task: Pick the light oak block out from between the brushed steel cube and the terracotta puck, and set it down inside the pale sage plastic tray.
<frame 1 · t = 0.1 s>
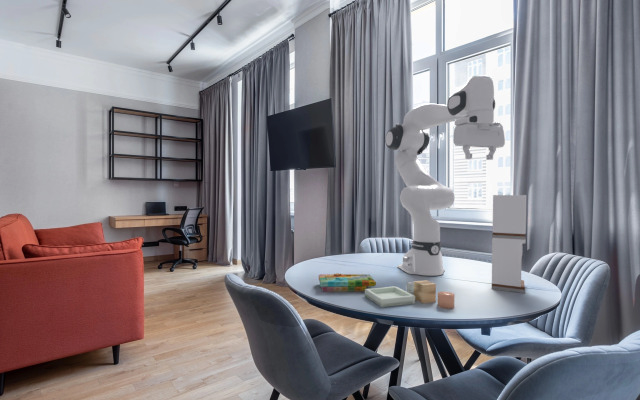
hand: (479, 159, 125), 48 cm above the table, tool pointing down, fingers open, 8 cm apart
sage tray: (389, 299, 116), on the table
puzzle game: (346, 289, 130), on the table
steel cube: (414, 294, 122), on the table
striped white tower: (508, 287, 132), on the table
terracotta puck: (445, 306, 110), on the table
oak block: (424, 300, 115), on the table
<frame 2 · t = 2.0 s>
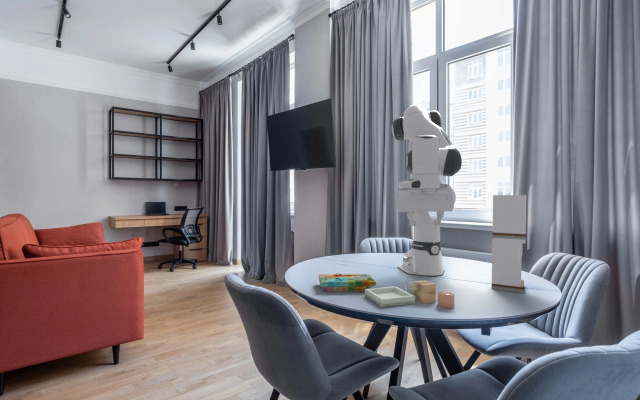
hand: (425, 225, 115), 25 cm above the table, tool pointing down, fingers open, 8 cm apart
nothing on the table moved.
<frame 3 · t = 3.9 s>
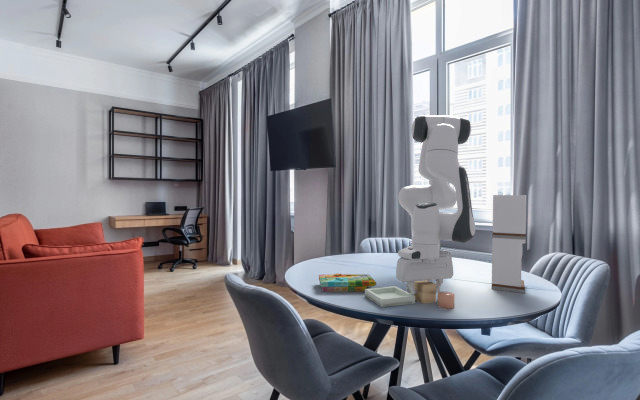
hand: (425, 293, 115), 2 cm above the table, tool pointing down, fingers open, 7 cm apart
nothing on the table moved.
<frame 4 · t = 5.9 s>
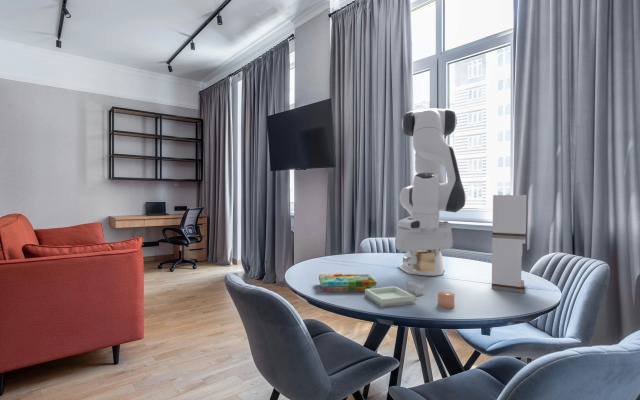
hand: (424, 263, 116), 12 cm above the table, tool pointing down, fingers closed on oak block, 5 cm apart
oak block: (423, 269, 116), point 10 cm above the table, touching gripper
everything else where it was.
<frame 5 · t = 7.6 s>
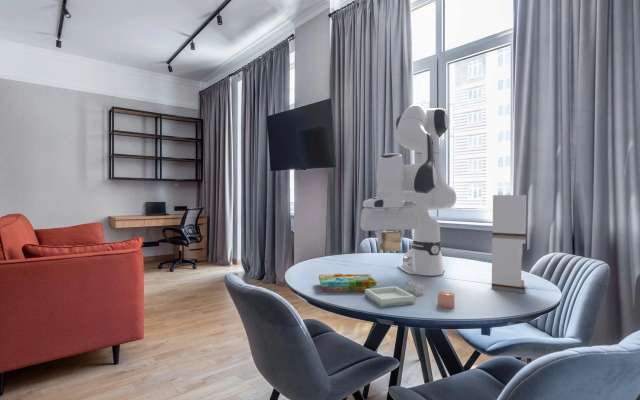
hand: (389, 243, 115), 19 cm above the table, tool pointing down, fingers closed on oak block, 5 cm apart
oak block: (389, 250, 116), point 17 cm above the table, touching gripper
everything else where it was.
when the fingers open (5 cm above the table, at t = 10.6 s): oak block drops 1 cm, resting on sage tray.
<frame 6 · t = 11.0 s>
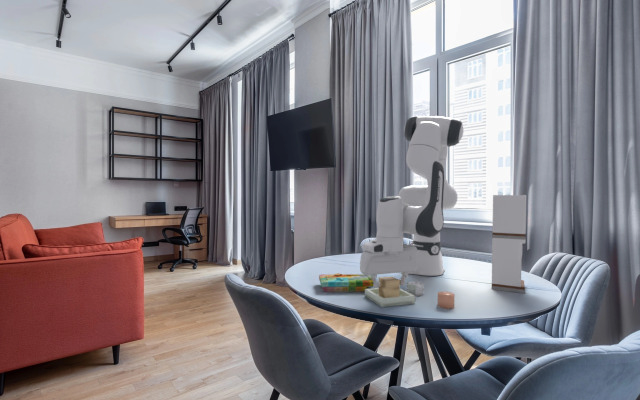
hand: (389, 286, 116), 5 cm above the table, tool pointing down, fingers open, 8 cm apart
oak block: (388, 296, 116), point 1 cm above the table, touching sage tray
everything else where it was.
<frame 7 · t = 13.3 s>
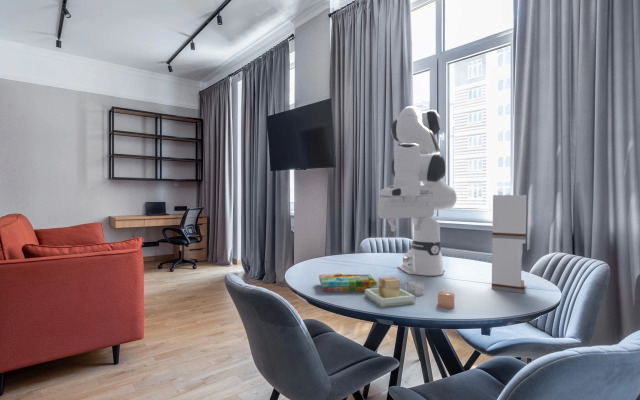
hand: (406, 230, 119), 23 cm above the table, tool pointing down, fingers open, 8 cm apart
nothing on the table moved.
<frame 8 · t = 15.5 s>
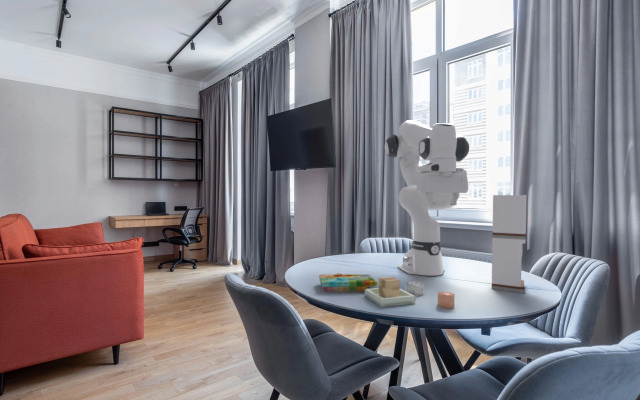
hand: (442, 205, 126), 31 cm above the table, tool pointing down, fingers open, 8 cm apart
nothing on the table moved.
at the end: oak block inside the target area on the sage tray (0.2 cm from its centre), point 1.0 cm above the sage tray's base; oak block tilted 0°; the gripper is holding nothing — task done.
